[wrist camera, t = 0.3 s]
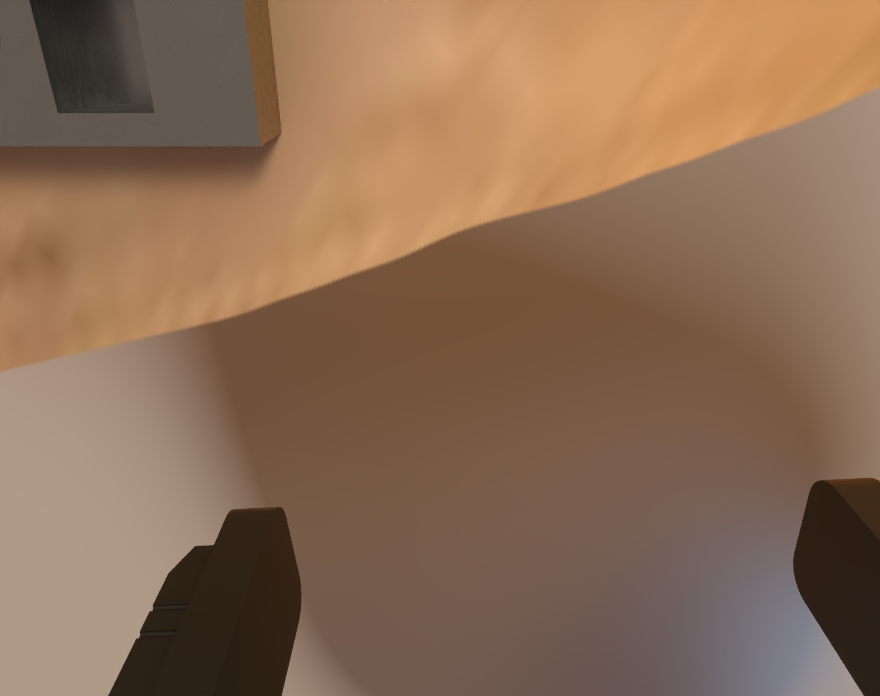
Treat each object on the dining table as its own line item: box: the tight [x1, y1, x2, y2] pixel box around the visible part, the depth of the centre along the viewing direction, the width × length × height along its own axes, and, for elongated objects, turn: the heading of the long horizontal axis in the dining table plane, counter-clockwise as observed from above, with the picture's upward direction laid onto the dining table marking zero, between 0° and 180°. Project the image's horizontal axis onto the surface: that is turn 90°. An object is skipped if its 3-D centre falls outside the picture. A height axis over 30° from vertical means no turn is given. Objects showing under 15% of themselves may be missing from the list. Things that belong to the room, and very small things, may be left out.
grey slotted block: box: [0, 0, 281, 147], centre depth 31 cm, size 8×22×4 cm, turn 90°
